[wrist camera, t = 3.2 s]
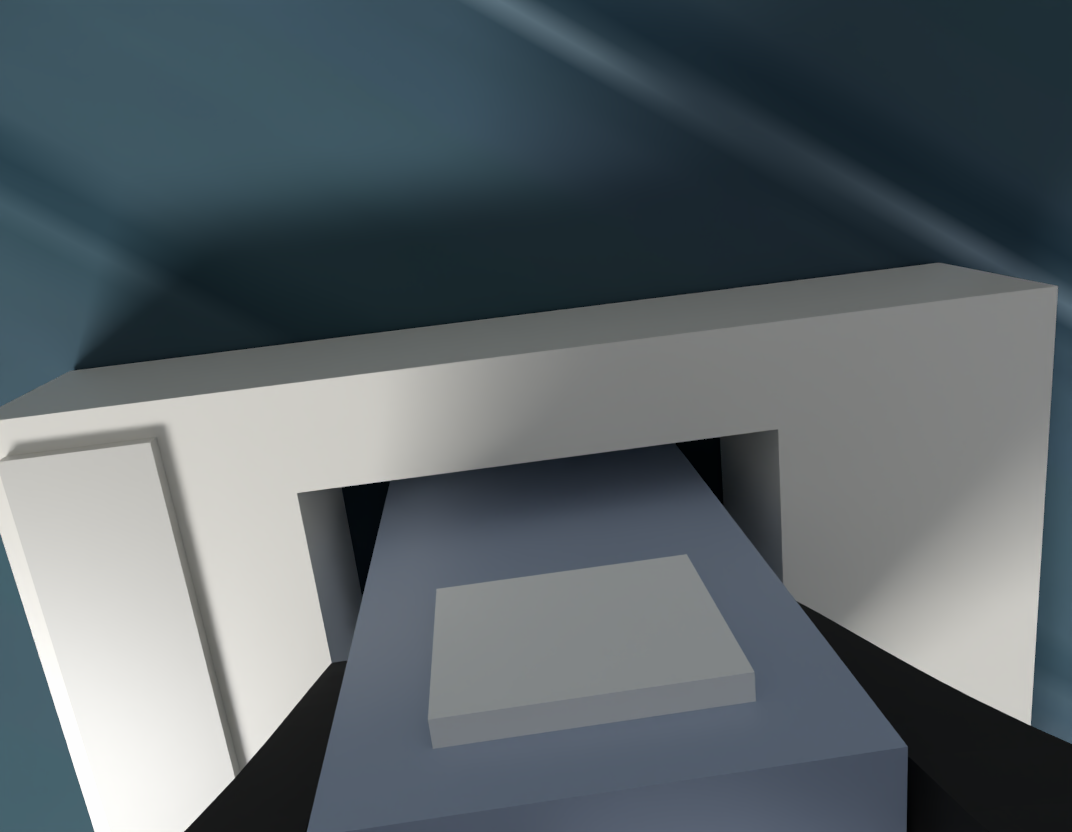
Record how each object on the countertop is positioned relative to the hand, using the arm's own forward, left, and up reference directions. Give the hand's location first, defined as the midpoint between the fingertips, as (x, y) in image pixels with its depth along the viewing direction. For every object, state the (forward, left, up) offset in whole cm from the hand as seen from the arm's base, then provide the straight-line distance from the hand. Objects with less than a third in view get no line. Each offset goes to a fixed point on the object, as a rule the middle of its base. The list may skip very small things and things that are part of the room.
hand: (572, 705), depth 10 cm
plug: (0, 0, -3) cm, 3 cm away
